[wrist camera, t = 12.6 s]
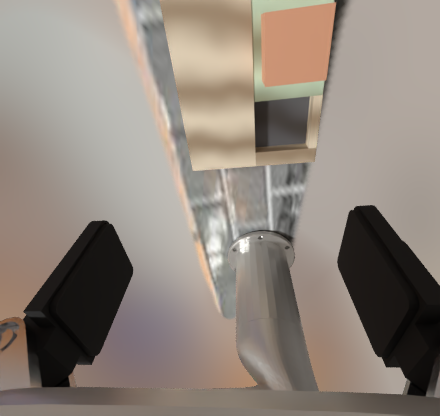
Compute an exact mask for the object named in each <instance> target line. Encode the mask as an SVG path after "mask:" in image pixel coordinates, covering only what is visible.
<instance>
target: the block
mask: <svg viewBox="0 0 440 416" xmlns="http://www.w3.org/2000/svg"><path fill="white" fill-rule="evenodd" d="M335 7H336V2H334V3H327V4H321V5H314V6H307V7H300V8H293V9H286V10H279V11H272V12H265V13H263V14H261V53H262V82H263V84H264V86H265V87H271V86H280V85H289V84H298V83H307V82H316V81H324V80H326V79H327V71H328V63H329V55H330V47H331V39H332V31H333V23H334V15H335Z"/></svg>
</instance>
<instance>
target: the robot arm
mask: <svg viewBox="0 0 440 416" xmlns="http://www.w3.org/2000/svg"><path fill="white" fill-rule="evenodd" d="M294 259H295V253H294V249H293V246H292V244H291V243H290V242H289V241H288V240H287V239H286V238H285V237H283V236H281V235H279V234H277V233H273V232H268V231H257V232H251V233H248V234H245V235H243V236H241V237H239V238H238V239H236V240H235V241H234V242H233V243H232V244H231V246H230V248H229V251H228V262H229V265H230V267H231V268H232V269H233V270H234V271H235V272H236V347H237V352H238V355H239V358H240V360H241V362H242V364H243V366H244V367H245V369H246V370H247V371H248V372H249V374H250V375H251V376H252V378H253V379H254V380H255V381H256V382H257V384H258V385H256V386H254V387H246V388H213V389H174V388H173V389H172V388H104V387H77V386H76V382H75V377H74V373H73V370H74V368H75V366H76V364H78V365H92V362H93V360H94V358H95V356H97V355H98V354H99V353H100V351H101V349H102V347H103V345H104V342H105V340H106V337H107V335H108V332H109V330H110V328H111V325H112V323H113V320H114V318H115V316H116V313H117V311H118V309H119V306H120V304H121V301H122V299H123V297H124V294H125V292H126V289H127V287H128V284H129V282H130V280H131V277H132V275H133V267H132V264H131V262H130V260H129V258H128V256H127V254H126V252H125V250H124V248H123V246H122V243H121V242H120V239H119V237H118V235H117V233H116V231H115V229H114V227H113V225H112V224H109V222H107V221H92V222H90V223H89V224H88V226H87V227H86V228H85V230H84V231H83V233H82V234H81V235H80V236H79V238H78V239H77V240H76V242H75V243H74V244H73V246H72V247H71V249H70V250H69V251H68V252H67V254H66V255H65V256H64V258H63V259H62V261H61V262H60V263H59V265H58V266H57V267H56V268H55V270H54V271H53V272H52V274H51V275H50V277H49V278H48V279H47V281H46V282H45V283H44V285H43V286H42V287H41V288H40V290H39V291H38V292H37V294H36V295H35V297H34V298H33V299H32V301H31V302H30V303H29V305H28V306H27V307H26V309H25V310H24V313H25V314H26V316H25V318H24V319H21V318H19V317H12V318H7V319H4V320H2V321H0V416H440V285H439V284H438V283H437V282H436V281H435V279H434V278H433V277H432V275H431V274H430V273H429V272H428V271H427V269H426V268H425V267H424V265H423V264H422V263H421V261H420V260H419V259H418V258H417V257H416V255H415V254H414V253H413V251H412V250H411V249H410V248H409V246H408V245H407V244H406V243H405V242H404V241H402V240H401V239H400V237H399V236H398V235H397V234H396V232H395V231H394V230H393V228H392V227H391V226H390V225H389V223H388V222H387V221H386V220H385V218H384V217H383V216H382V214H381V213H380V212H379V210H377V208H376V207H375V206H373V205H370V206H369V205H368V206H356V207H355V208H354V210H351V211H350V212H349V215H348V219H347V223H346V227H345V231H344V235H343V240H342V244H341V248H340V252H339V256H338V261H337V263H338V268H339V270H340V273H341V275H342V278H343V280H344V282H345V285H346V287H347V289H348V292H349V294H350V296H351V299H352V301H353V303H354V306H355V308H356V310H357V313H358V315H359V317H360V320H361V322H362V324H363V327H364V329H365V331H366V333H367V336H368V338H369V340H370V343H371V345H372V348H373V350H374V352H375V354H376V355H377V356H378V357H382V359H383V361H384V364H385V366H386V367H400V368H401V370H402V372H403V374H404V376H405V378H407V381H406V385H405V388H404V391H403V394H402V395H401V394H377V393H353V392H351V393H350V392H319V390H318V386H317V383H316V380H315V377H314V374H313V370H312V366H311V363H310V359H309V354H308V351H307V346H306V342H305V337H304V333H303V328H302V324H301V320H300V315H299V311H298V306H297V302H296V297H295V292H294V289H293V283H292V279H291V275H290V270H289V268H290V267H291V266H292V264H293V262H294Z"/></svg>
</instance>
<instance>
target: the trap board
mask: <svg viewBox="0 0 440 416" xmlns="http://www.w3.org/2000/svg"><path fill="white" fill-rule="evenodd" d="M327 3H334V0H160V4H161V9H162V15H163V20H164V25H165V30H166V35H167V40H168V45H169V50H170V56H171V61H172V66H173V71H174V76H175V81H176V86H177V91H178V97H179V102H180V107H181V112H182V117H183V122H184V127H185V133H186V138H187V143H188V148H189V153H190V158H191V163H192V168H193V171H199V170H212V169H225V168H238V167H251V166H264V165H277V164H290V163H303V162H315V155H316V147H317V139H318V131H319V123H320V115H321V107H322V98H323V88H324V81H316V82H307V83H298V84H289V85H280V86H271V87H265V86H264V84H263V82H262V53H261V14H263V13H265V12H272V11H279V10H286V9H293V8H300V7H307V6H314V5H321V4H327Z"/></svg>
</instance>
